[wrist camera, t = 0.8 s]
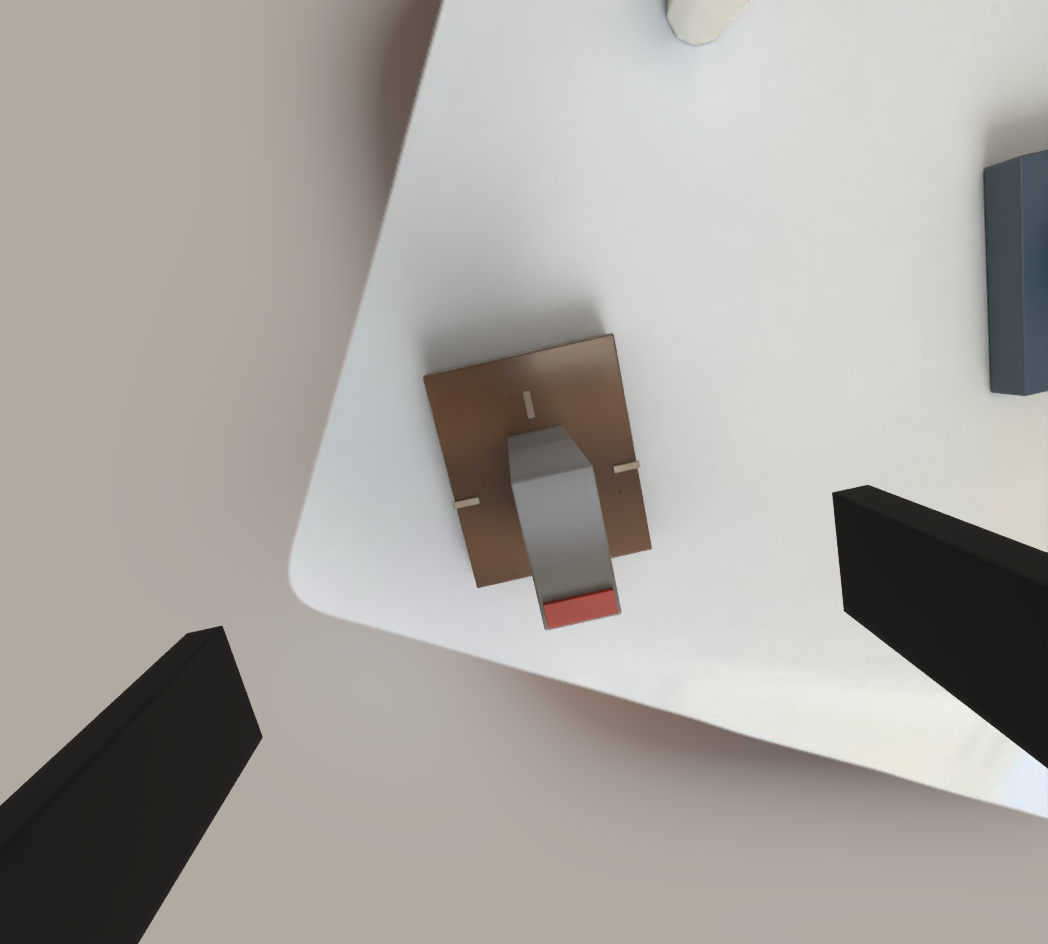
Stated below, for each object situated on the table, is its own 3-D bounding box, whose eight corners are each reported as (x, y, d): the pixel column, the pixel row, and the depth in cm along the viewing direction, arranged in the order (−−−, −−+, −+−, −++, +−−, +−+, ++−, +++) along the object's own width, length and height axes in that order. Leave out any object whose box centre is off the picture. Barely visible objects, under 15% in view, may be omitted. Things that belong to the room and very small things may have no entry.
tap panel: (425, 374, 32) (420, 377, 29) (608, 333, 31) (616, 332, 29) (477, 576, 34) (475, 591, 32) (645, 538, 34) (655, 552, 32)
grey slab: (506, 436, 30) (510, 484, 20) (562, 424, 30) (593, 466, 20) (530, 542, 32) (545, 635, 22) (584, 530, 32) (623, 617, 22)
